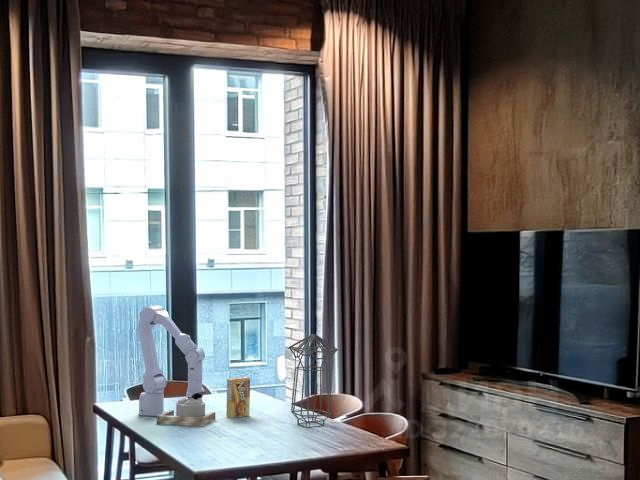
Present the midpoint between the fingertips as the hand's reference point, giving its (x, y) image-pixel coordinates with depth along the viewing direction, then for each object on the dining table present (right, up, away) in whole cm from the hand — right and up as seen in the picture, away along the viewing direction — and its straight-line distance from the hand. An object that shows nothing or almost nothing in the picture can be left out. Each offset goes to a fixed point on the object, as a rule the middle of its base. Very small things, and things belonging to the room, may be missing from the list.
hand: (194, 412), depth 350 cm
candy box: (+17, -2, +3) cm, 17 cm away
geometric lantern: (+47, -2, -13) cm, 49 cm away
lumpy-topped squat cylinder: (-1, -2, -7) cm, 8 cm away
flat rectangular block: (-2, -2, -8) cm, 8 cm away
